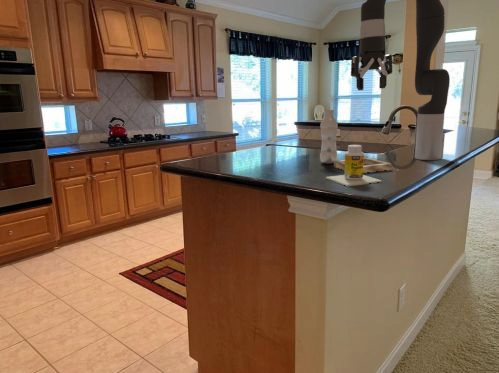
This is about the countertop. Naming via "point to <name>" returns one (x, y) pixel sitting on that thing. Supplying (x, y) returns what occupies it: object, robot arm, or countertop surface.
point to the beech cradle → (367, 165)
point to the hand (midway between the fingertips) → (371, 89)
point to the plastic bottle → (328, 138)
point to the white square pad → (347, 182)
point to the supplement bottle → (354, 163)
